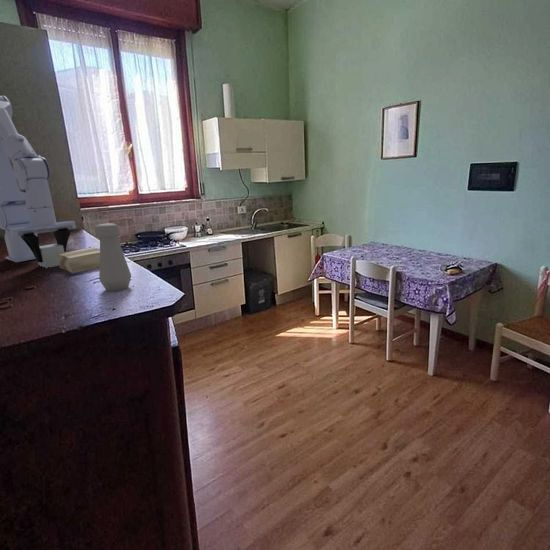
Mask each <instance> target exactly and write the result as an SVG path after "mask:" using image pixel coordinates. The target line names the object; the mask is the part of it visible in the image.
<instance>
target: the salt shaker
mask: <svg viewBox="0 0 550 550" xmlns="http://www.w3.org/2000/svg"><path fill="white" fill-rule="evenodd" d="M94 234H95V236H96V238H98V239H99V249H100V267H99V275H98V276H99V277H98V278H99V282H100V283H101V285H102V286H103V288H104V289H105V291H106V292H112V293H113V292H119V291H124V290H126V289H128V288H129V286H130V282H131V280H132V273H131V271H130V268H129V265H128V263H127V260H126V257H125V254H124V252H123V249H122V247H121V243H120V241H119V238H118V236H119V235H120V234H121V233H120V228H119V225H117V224H116V223H113V222H108V223H107V222H106V223H101V224H97V225H96V226H94Z"/></svg>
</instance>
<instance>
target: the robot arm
mask: <svg viewBox="0 0 550 550" xmlns="http://www.w3.org/2000/svg"><path fill="white" fill-rule="evenodd" d="M12 118H13V107H12V104H11V102H10V99H8V97H7V96H6V95H0V229H2V230H4V232H5V233H4V241H5V244H6V249H7V253H8V256H5V257H4V258H5V259H6V260H9V261H12V262H14V263H20V262H26V261H31V260H36V262H37V263H38V262H43V260H42V255H41V252H40V247H39V246H41V245H40V241H39V240H40V239H39V236H38V234H41V233H42V234H43V233H49V232H50V233H51V232H53V235H54V238H55V241H56V244H59V245H63V248H64V252H67V245H68V241H69V238H70V236H71V230H70V229H72V230H73V229H77V225H76V221H75V220H67V221H57V219H56V215H55V210H54V204H53V200H52V195H51V191H50V187H49V181H50V179H51V168H50V166H49V165H50V164H49V163H48V160H47V159H46V158H45V157H43V156H41V155H39V154H37V153H36V152H35V150H34V148H33V146H32V145H31V144H30V141H28V139H27V137H25V136H23V135H22V134H19V132H18V130H17V129H16V127H15V124H14V122H13V120H12ZM21 190H22V191H21Z"/></svg>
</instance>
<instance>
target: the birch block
mask: <svg viewBox="0 0 550 550" xmlns="http://www.w3.org/2000/svg"><path fill="white" fill-rule="evenodd" d="M57 256H58V261H59V268H60V269H62V270H64V271H68V273H71V274H75V273H80V272H85V271H88V270H95V269H100V248H98V247H94V246H93V247H87V248H82V249H75V250H69V251H66V252H63V253H57Z"/></svg>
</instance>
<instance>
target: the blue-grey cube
mask: <svg viewBox="0 0 550 550" xmlns="http://www.w3.org/2000/svg"><path fill="white" fill-rule="evenodd" d="M39 247H40V252H41V255H42V260H43V262H37V265H38V266H39V265H40V266H39V267H41V266H42V268H44V267H45V269H49V268H54V267H60V265H59V261H58V256H57V253H63V252H64V248H63V245H59V244H57V243H51V244H45V245H40V246H39ZM48 267H49V268H48Z"/></svg>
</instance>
